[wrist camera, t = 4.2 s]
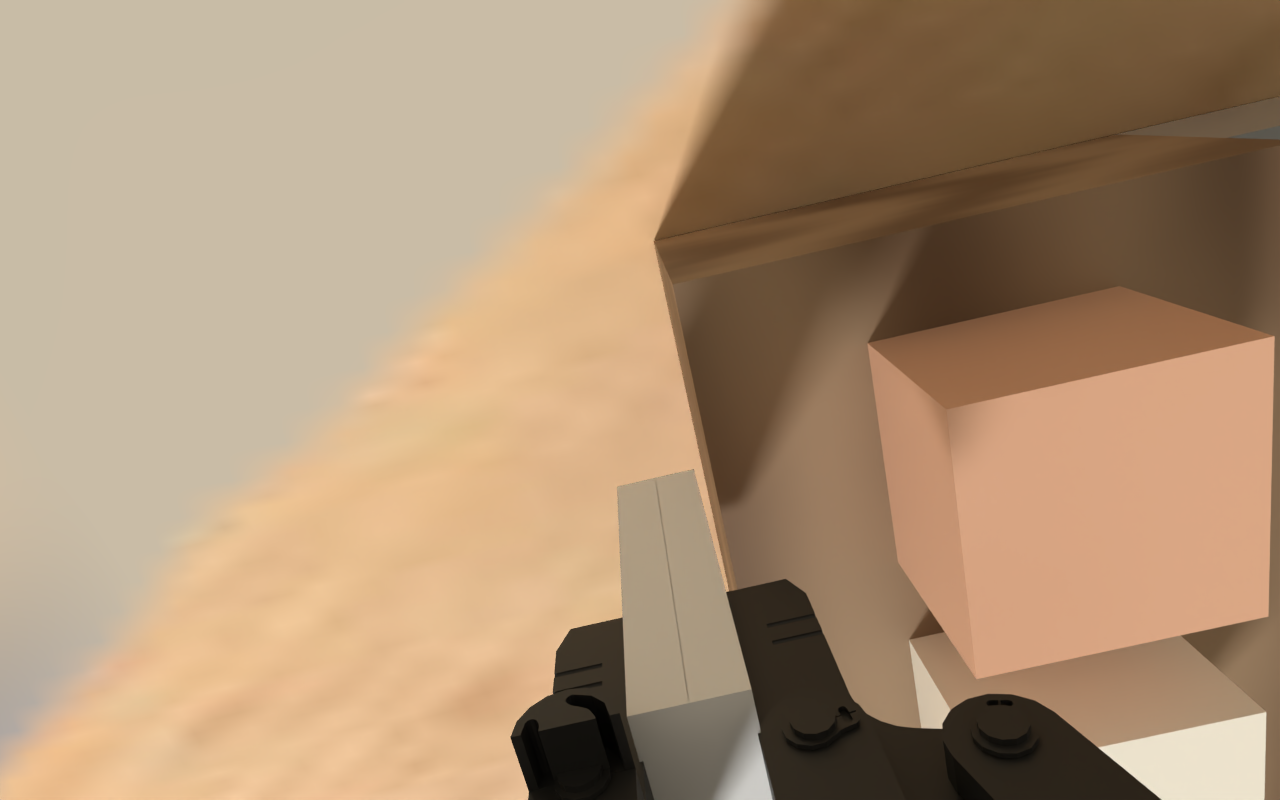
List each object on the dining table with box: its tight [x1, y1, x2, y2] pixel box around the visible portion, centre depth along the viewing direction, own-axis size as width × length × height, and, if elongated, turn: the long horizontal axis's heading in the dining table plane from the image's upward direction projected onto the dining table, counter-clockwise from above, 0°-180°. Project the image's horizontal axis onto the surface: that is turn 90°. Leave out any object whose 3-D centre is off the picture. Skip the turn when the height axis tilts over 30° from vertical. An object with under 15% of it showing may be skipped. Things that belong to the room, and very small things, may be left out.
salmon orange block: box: [867, 286, 1275, 679], centre depth 15 cm, size 5×5×4 cm
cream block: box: [909, 632, 1266, 800], centre depth 18 cm, size 5×5×4 cm
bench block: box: [654, 134, 1280, 800], centre depth 21 cm, size 12×16×6 cm
